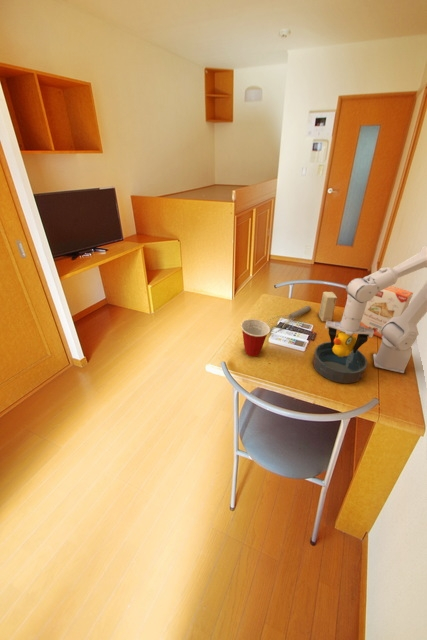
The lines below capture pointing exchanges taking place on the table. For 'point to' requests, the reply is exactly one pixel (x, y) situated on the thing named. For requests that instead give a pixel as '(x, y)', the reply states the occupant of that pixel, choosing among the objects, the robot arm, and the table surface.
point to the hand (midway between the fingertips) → (342, 348)
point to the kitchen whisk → (293, 315)
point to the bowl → (339, 364)
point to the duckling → (343, 344)
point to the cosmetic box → (327, 306)
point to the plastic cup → (254, 335)
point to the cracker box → (385, 308)
